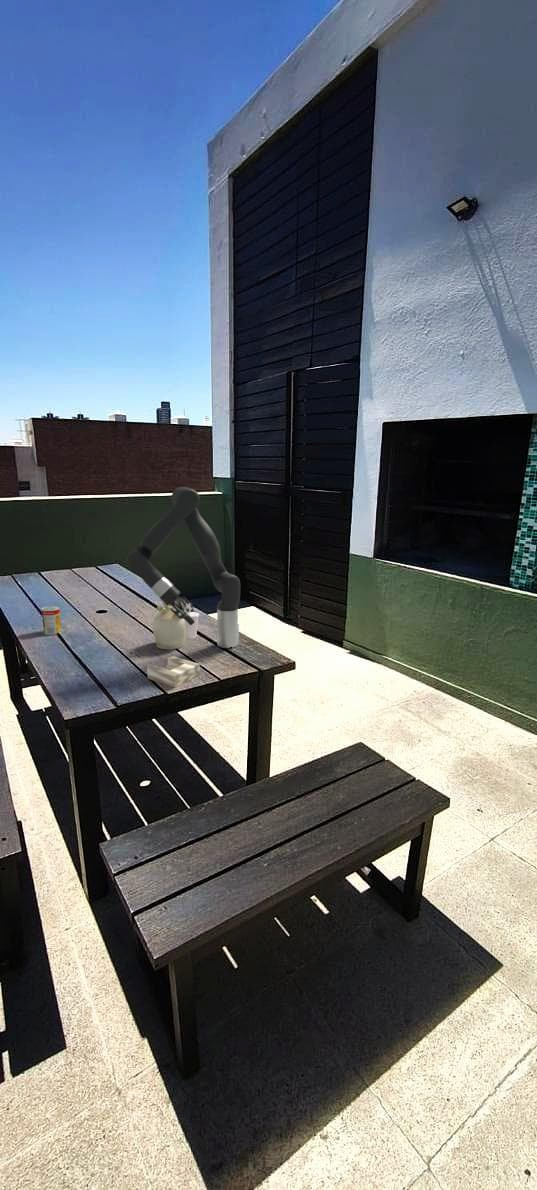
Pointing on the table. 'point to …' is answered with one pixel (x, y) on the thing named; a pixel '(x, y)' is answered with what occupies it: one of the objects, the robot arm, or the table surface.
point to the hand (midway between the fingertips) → (195, 620)
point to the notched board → (174, 672)
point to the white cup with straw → (192, 629)
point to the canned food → (51, 620)
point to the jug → (168, 629)
